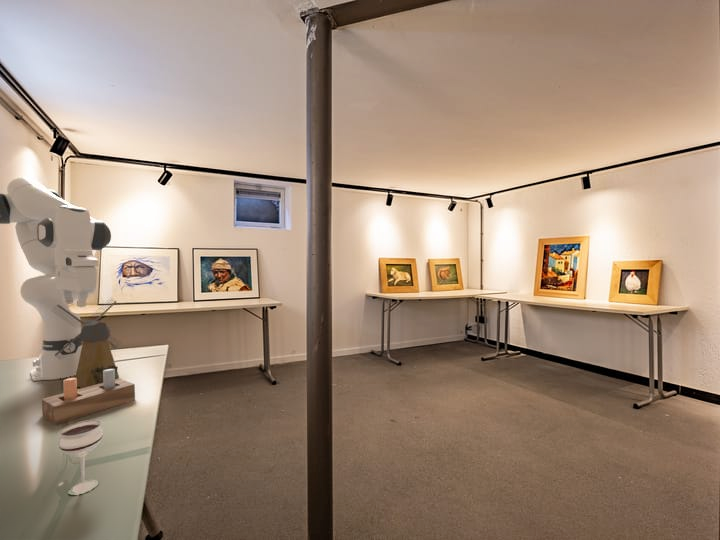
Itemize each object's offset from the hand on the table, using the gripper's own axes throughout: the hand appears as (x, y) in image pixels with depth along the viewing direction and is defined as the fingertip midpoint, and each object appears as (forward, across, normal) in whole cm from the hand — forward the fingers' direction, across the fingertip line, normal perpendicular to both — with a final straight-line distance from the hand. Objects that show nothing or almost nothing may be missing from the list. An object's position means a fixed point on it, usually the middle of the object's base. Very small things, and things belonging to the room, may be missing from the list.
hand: (75, 305), depth 108 cm
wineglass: (+30, +49, -16) cm, 60 cm away
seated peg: (+31, +6, +6) cm, 32 cm away
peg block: (+31, +6, +2) cm, 31 cm away
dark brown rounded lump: (+31, -5, +10) cm, 33 cm away
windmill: (+32, -19, +12) cm, 39 cm away
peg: (+31, +6, -3) cm, 32 cm away
